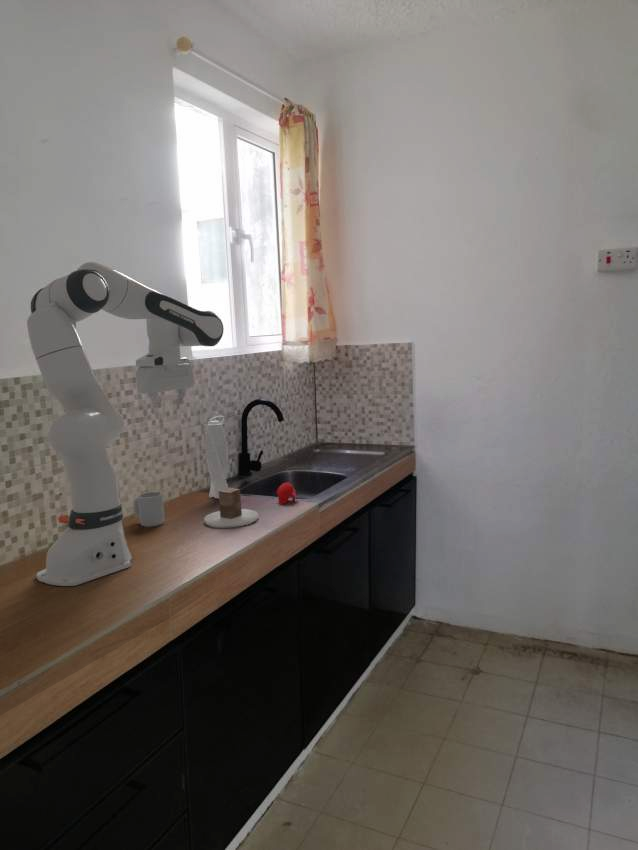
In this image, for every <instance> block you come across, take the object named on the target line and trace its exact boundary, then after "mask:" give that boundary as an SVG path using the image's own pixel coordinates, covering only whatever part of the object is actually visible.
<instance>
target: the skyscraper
mask: <svg viewBox="0 0 638 850" xmlns="http://www.w3.org/2000/svg"><path fill="white" fill-rule="evenodd" d="M220 417H222V419H221V420H222V421H220V420H214V419H216V418H220ZM225 418H226V416H225V415H221V414H220V415H215V416H212V417H211V418H210V419H209V420H208V422H207V423H206V424H205V425H206V434H205V444H204V448H205V449H204V450H205V460H206V464H207V469H208V474H209V477H210V480H211V481H210V485H209V486H210V487H209V488H210V489H209V494H208V498H212V497H214V498H213V499H217V498H218V499H217V500H219V491H220V490H224V489H227V488H229V485H228V482H227V479H226V476H227V472H228V471H227V470H228V463H229V448H228V440H227V437H226V434H225V433H226V432H225V429H224V427H223V425H224V422H225Z"/></svg>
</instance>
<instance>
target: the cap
mask: <svg viewBox="0 0 638 850" xmlns="http://www.w3.org/2000/svg"><path fill="white" fill-rule="evenodd" d="M276 493H277V496H278V498H277V499H278V504H280V505H282V504H283V505H285V504H286V503H287V502H288V501H289V499H290V498H291V500H292V502H295V501H296V499H297V491H296V489H295V487H294V486H293V484H291V483H290V482H283V483H282V484H281V485H280V486H278V488H277V489H276Z"/></svg>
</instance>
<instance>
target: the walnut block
mask: <svg viewBox="0 0 638 850" xmlns="http://www.w3.org/2000/svg"><path fill="white" fill-rule="evenodd" d="M218 501H219V511H220V517H222V518H228V519H233V518H236V517H238V516H241V515H242V511H241V509H242V498H241V489H240V488H232V487H228V488H227V489H224V490H220V491H219V499H218Z"/></svg>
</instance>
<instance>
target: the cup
mask: <svg viewBox="0 0 638 850" xmlns="http://www.w3.org/2000/svg"><path fill="white" fill-rule="evenodd" d="M133 513H134V515H135V517H136V518H138V519H139V522H140V526H141V527H143V526H145V527H144V528H152V527H153V526H154V527H158V525H159V526H161V524H162V525H164V524H165V521H166V520H165V519H166V518H165V517H166V516H165V506H164V494H163V492H161V491H149V492H143V493H140V494H138V495H137V497H136V498H135V499H134V501H133Z"/></svg>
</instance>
